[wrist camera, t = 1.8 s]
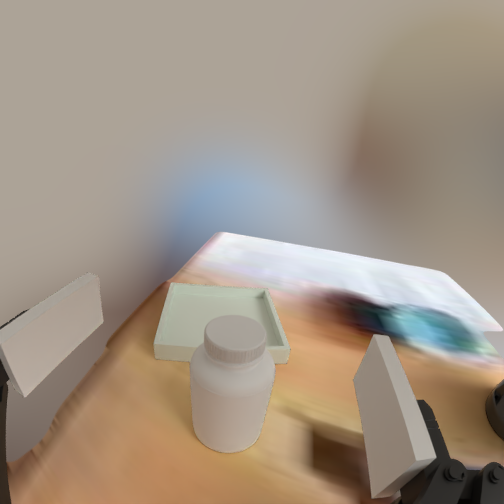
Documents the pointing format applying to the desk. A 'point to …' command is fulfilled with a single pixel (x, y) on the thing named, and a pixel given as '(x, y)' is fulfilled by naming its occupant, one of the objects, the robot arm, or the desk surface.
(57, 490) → the desk surface
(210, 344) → the pill bottle
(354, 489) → the desk surface
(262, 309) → the tray
